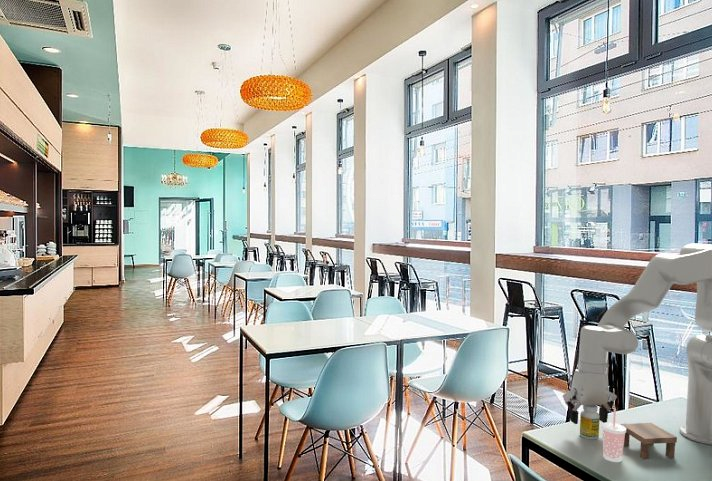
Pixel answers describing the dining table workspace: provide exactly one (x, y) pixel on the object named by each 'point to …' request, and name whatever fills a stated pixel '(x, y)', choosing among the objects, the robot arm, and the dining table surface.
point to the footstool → (650, 438)
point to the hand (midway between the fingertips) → (588, 422)
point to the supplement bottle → (589, 422)
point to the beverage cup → (613, 440)
